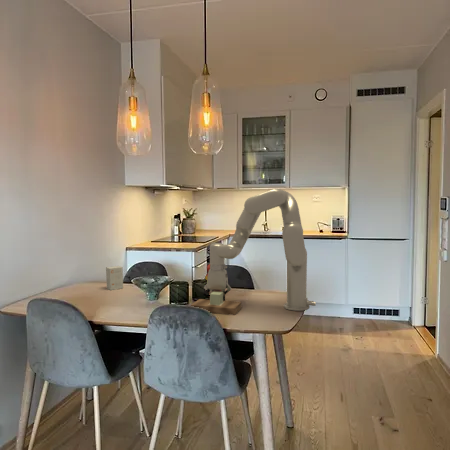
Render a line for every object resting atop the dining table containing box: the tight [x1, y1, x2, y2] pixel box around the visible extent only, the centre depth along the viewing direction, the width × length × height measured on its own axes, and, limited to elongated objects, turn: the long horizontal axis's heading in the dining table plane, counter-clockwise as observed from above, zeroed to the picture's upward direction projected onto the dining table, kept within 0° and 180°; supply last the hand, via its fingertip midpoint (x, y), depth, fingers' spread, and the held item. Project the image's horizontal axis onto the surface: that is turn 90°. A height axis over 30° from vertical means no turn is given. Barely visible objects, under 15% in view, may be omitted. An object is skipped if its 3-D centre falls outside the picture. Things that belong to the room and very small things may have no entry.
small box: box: [105, 265, 124, 291], centre depth 242 cm, size 8×6×13 cm
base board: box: [190, 298, 242, 316], centre depth 196 cm, size 22×12×3 cm, turn 73°
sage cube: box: [209, 292, 223, 305], centre depth 196 cm, size 5×5×5 cm
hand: (217, 302), depth 208 cm, fingers closed on beech block, 5 cm apart
